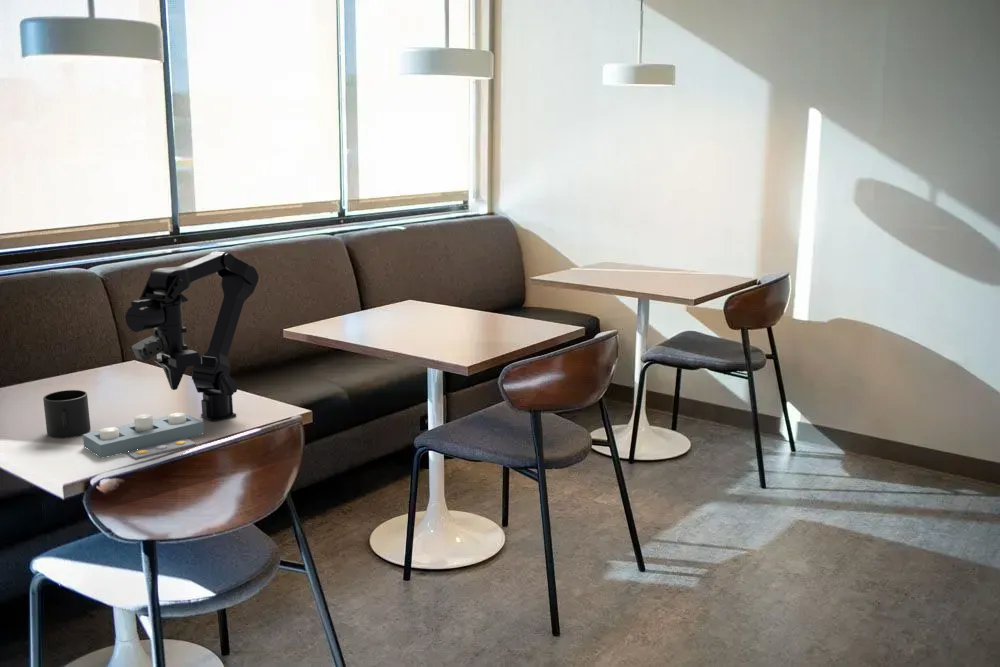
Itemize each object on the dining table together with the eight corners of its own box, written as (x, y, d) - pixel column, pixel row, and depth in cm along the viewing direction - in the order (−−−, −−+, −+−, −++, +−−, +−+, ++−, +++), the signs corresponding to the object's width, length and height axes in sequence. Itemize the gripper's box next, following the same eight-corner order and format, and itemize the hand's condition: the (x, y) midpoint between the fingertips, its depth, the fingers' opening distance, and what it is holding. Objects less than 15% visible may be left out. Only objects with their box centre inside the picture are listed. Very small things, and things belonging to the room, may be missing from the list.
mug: (44, 444, 222) (39, 405, 220) (49, 428, 233) (45, 391, 231) (88, 439, 225) (85, 401, 223) (91, 424, 236) (88, 388, 234)
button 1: (115, 441, 221) (114, 426, 220) (122, 445, 218) (121, 430, 218) (97, 445, 219) (96, 430, 218) (105, 449, 216) (103, 434, 215)
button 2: (182, 426, 232) (181, 411, 231) (189, 430, 229) (188, 415, 228) (166, 429, 229) (164, 415, 229) (173, 433, 226) (172, 418, 226)
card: (185, 439, 224) (185, 437, 224) (196, 444, 221) (195, 442, 221) (126, 453, 215) (125, 451, 215) (135, 459, 212) (135, 457, 211)
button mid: (149, 428, 226) (147, 413, 226) (156, 432, 224) (155, 417, 223) (132, 431, 224) (131, 416, 223) (139, 436, 221) (138, 420, 220)
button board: (184, 424, 236) (183, 412, 235) (204, 433, 229) (203, 421, 228) (84, 447, 220) (82, 434, 219) (101, 458, 212) (100, 445, 212)
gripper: (118, 322, 225) (123, 387, 228) (153, 335, 212) (158, 404, 215) (164, 316, 232) (168, 379, 236) (201, 328, 219) (205, 395, 222)
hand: (174, 389), depth 227 cm, fingers closed
